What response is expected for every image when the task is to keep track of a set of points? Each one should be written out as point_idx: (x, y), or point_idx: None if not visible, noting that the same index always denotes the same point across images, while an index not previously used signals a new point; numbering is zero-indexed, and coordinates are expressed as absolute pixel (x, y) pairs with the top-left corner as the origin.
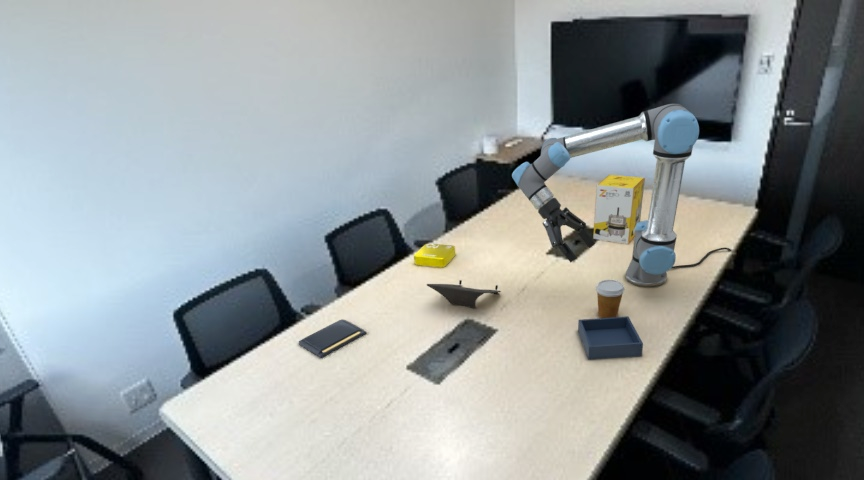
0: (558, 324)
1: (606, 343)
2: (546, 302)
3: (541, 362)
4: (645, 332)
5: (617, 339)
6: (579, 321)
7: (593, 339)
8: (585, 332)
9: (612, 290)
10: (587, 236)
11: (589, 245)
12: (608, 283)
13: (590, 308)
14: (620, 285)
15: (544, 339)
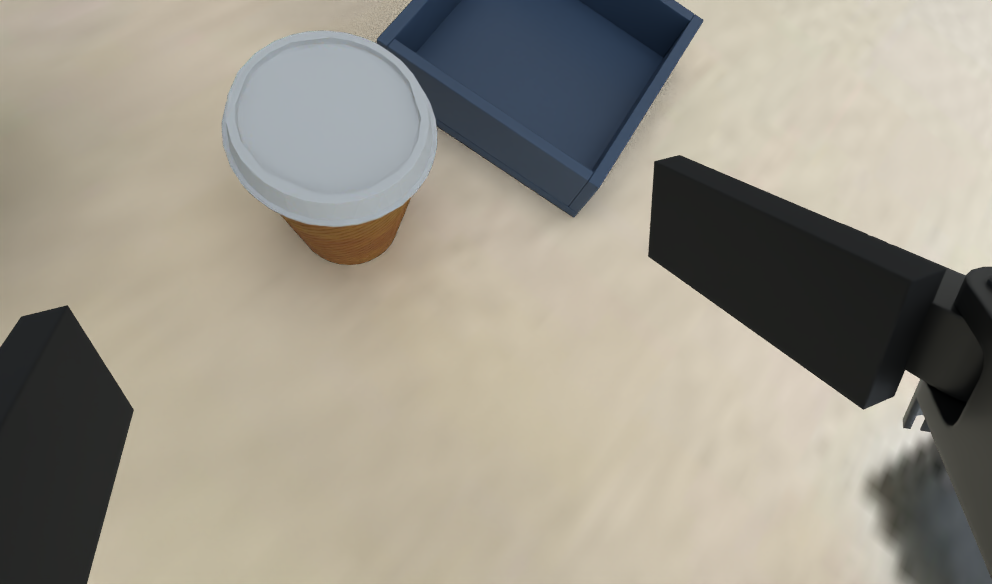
0: (604, 325)
1: (555, 64)
2: (505, 567)
3: (818, 166)
4: (342, 16)
5: (496, 51)
6: (607, 173)
7: (577, 117)
8: (647, 93)
9: (374, 71)
10: (7, 464)
11: (111, 405)
12: (304, 152)
13: (358, 333)
14: (266, 74)
15: None
